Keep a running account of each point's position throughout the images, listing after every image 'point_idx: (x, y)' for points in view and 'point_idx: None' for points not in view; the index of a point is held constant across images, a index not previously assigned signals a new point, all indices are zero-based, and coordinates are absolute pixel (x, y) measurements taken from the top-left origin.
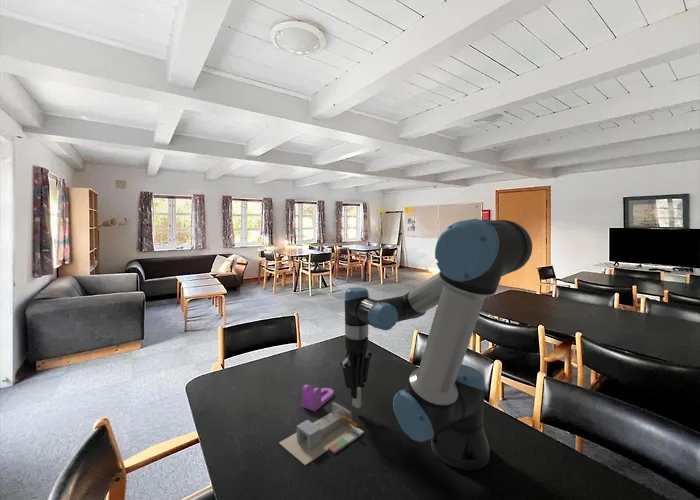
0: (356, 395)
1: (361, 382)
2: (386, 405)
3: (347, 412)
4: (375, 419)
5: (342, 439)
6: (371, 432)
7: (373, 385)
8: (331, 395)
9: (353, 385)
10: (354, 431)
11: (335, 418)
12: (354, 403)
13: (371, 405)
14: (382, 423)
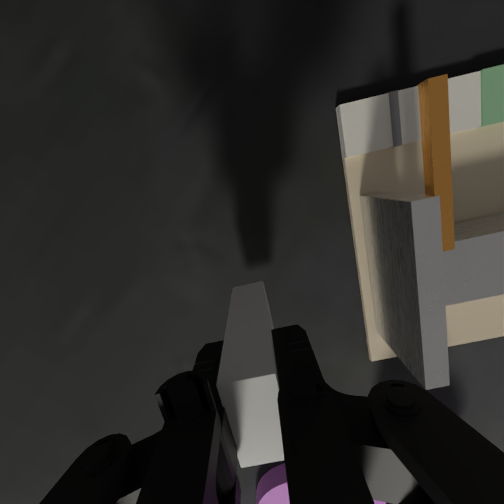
0: (275, 342)
1: (193, 452)
2: (54, 257)
3: (438, 220)
4: (194, 181)
5: (492, 114)
6: (291, 87)
7: (21, 447)
8: (285, 475)
9: (404, 436)
10: (385, 139)
11: (474, 257)
12: (271, 322)
13: (137, 304)
14: (180, 122)
